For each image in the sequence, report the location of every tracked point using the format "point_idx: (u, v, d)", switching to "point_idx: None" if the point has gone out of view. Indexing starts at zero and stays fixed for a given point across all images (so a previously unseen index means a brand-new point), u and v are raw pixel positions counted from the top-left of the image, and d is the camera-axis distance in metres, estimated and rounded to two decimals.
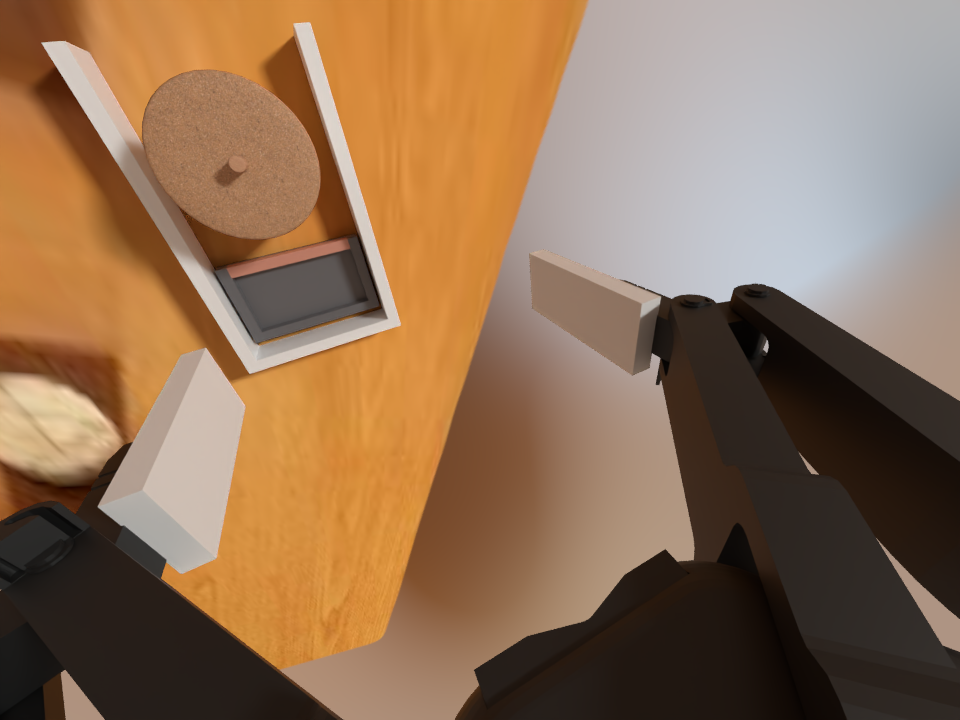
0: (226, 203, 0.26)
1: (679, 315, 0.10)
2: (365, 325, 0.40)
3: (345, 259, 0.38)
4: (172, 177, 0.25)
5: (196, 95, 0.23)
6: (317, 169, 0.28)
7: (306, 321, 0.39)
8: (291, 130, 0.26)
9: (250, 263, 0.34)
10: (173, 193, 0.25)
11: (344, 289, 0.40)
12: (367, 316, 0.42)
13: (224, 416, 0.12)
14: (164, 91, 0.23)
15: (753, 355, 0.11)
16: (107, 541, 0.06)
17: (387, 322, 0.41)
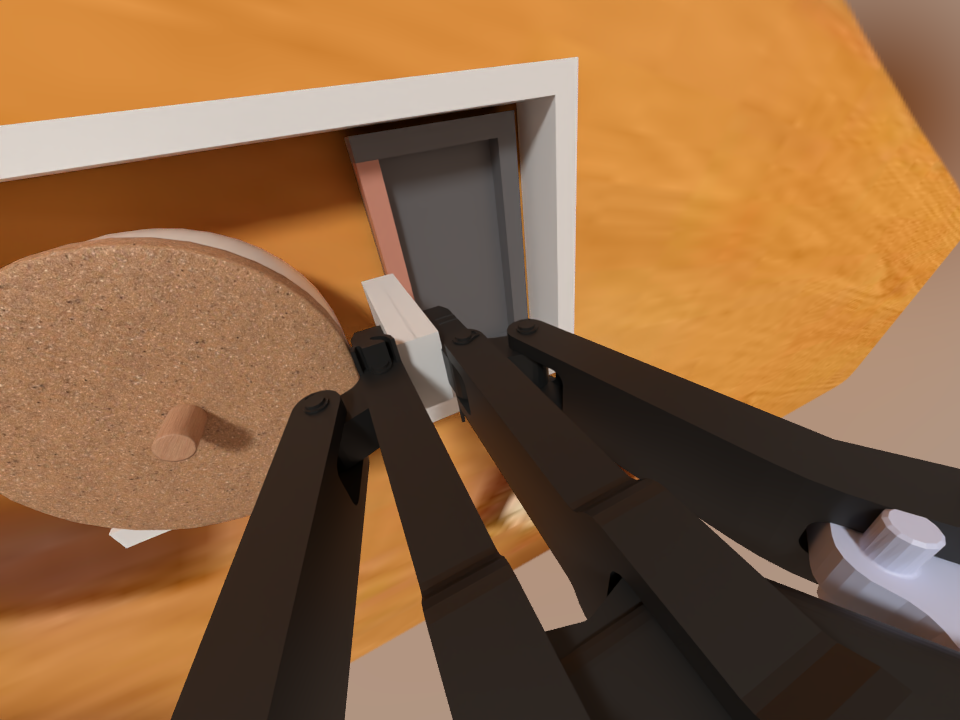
0: None
1: (458, 355, 0.10)
2: (552, 159, 0.17)
3: (403, 174, 0.17)
4: (256, 496, 0.14)
5: (47, 483, 0.11)
6: (127, 251, 0.09)
7: (514, 271, 0.21)
8: (18, 313, 0.09)
9: None
10: None
11: (465, 187, 0.19)
12: (528, 146, 0.19)
13: None
14: (76, 518, 0.12)
15: (544, 383, 0.11)
16: (407, 374, 0.10)
17: (562, 98, 0.16)
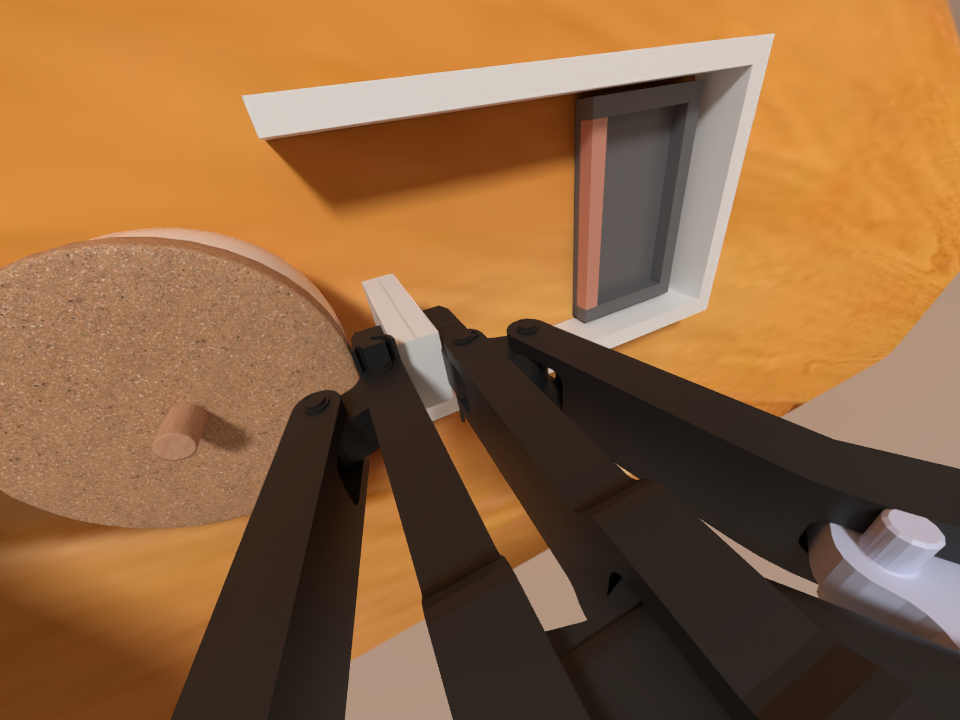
0: None
1: (458, 356, 0.10)
2: (734, 120, 0.21)
3: (611, 132, 0.21)
4: (257, 495, 0.14)
5: (48, 481, 0.11)
6: (128, 250, 0.09)
7: (672, 222, 0.25)
8: (20, 312, 0.09)
9: (587, 282, 0.24)
10: None
11: (649, 146, 0.22)
12: (703, 112, 0.22)
13: None
14: (77, 516, 0.12)
15: (544, 384, 0.11)
16: (407, 374, 0.10)
17: (756, 67, 0.19)
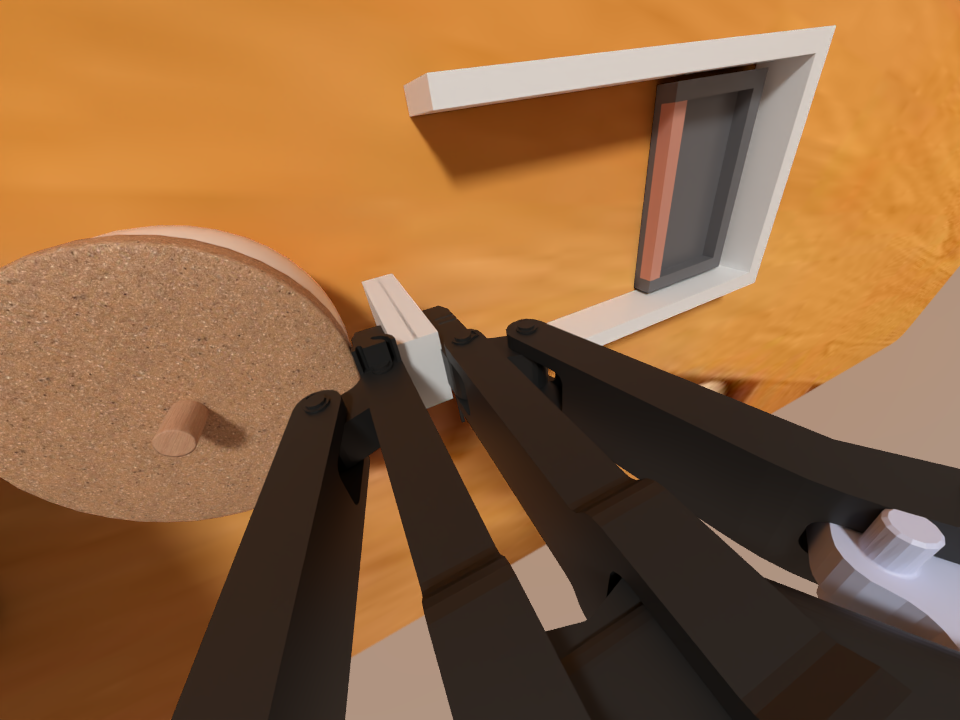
0: None
1: (458, 356, 0.10)
2: (794, 104, 0.23)
3: (684, 115, 0.23)
4: (257, 492, 0.14)
5: (53, 474, 0.11)
6: (131, 248, 0.09)
7: (729, 200, 0.27)
8: (26, 308, 0.09)
9: (654, 254, 0.27)
10: None
11: (714, 128, 0.25)
12: (763, 97, 0.25)
13: None
14: (81, 508, 0.12)
15: (544, 383, 0.11)
16: (407, 374, 0.10)
17: (818, 56, 0.22)
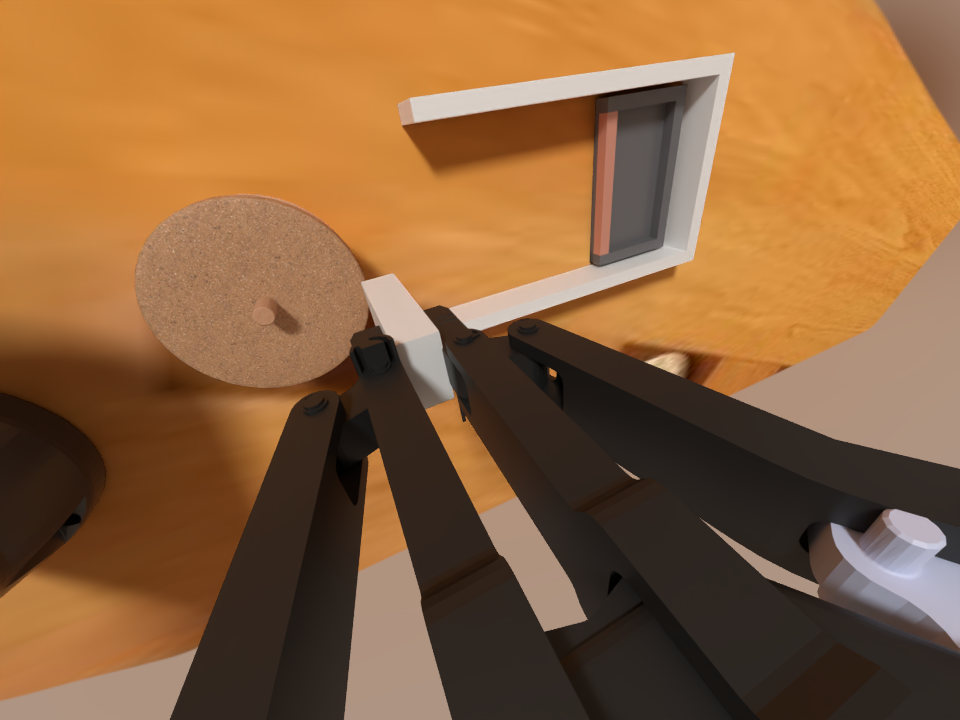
0: (324, 325, 0.21)
1: (459, 355, 0.10)
2: (708, 113, 0.29)
3: (620, 122, 0.30)
4: (301, 369, 0.21)
5: (188, 340, 0.18)
6: (245, 201, 0.17)
7: (666, 190, 0.34)
8: (190, 232, 0.16)
9: (601, 233, 0.33)
10: (321, 371, 0.22)
11: (648, 132, 0.31)
12: (687, 107, 0.31)
13: None
14: (198, 367, 0.19)
15: (545, 383, 0.11)
16: (406, 374, 0.09)
17: (722, 76, 0.28)
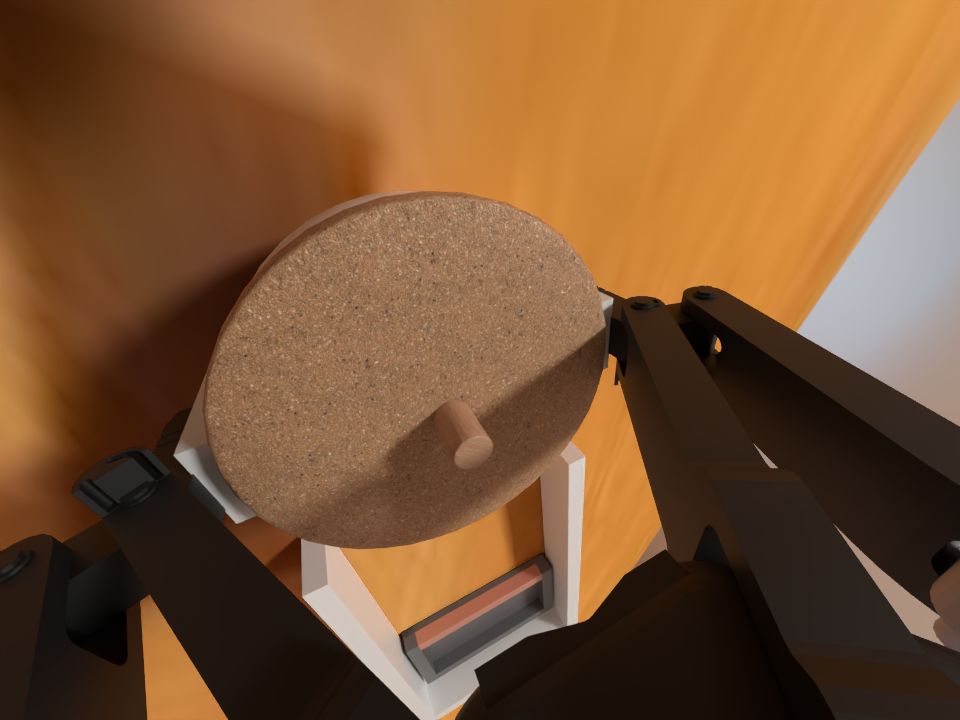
0: (401, 500, 0.10)
1: (631, 317, 0.10)
2: None
3: None
4: (282, 486, 0.08)
5: (384, 276, 0.07)
6: (597, 383, 0.12)
7: (481, 648, 0.33)
8: (581, 319, 0.10)
9: (443, 631, 0.29)
10: (278, 517, 0.09)
11: (520, 601, 0.34)
12: None
13: None
14: (288, 279, 0.06)
15: (706, 355, 0.12)
16: (183, 487, 0.07)
17: None
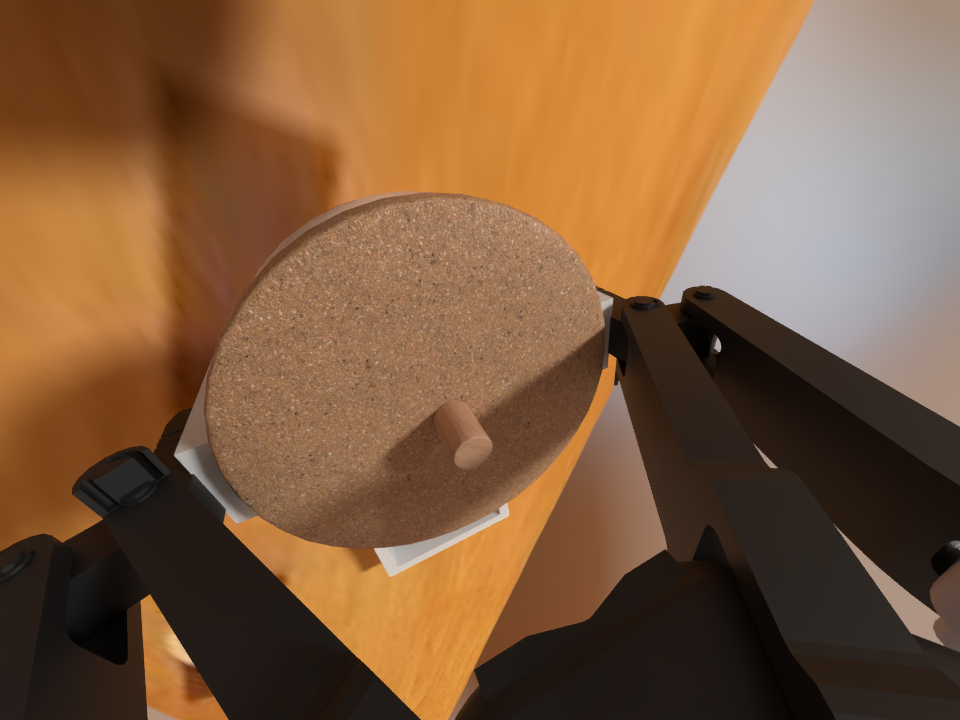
0: (401, 500, 0.10)
1: (631, 317, 0.10)
2: (481, 521, 0.46)
3: None
4: (283, 486, 0.08)
5: (384, 277, 0.07)
6: (596, 383, 0.12)
7: None
8: (580, 320, 0.10)
9: None
10: (279, 517, 0.09)
11: None
12: None
13: None
14: (289, 280, 0.06)
15: (706, 355, 0.12)
16: (184, 487, 0.07)
17: (499, 516, 0.47)
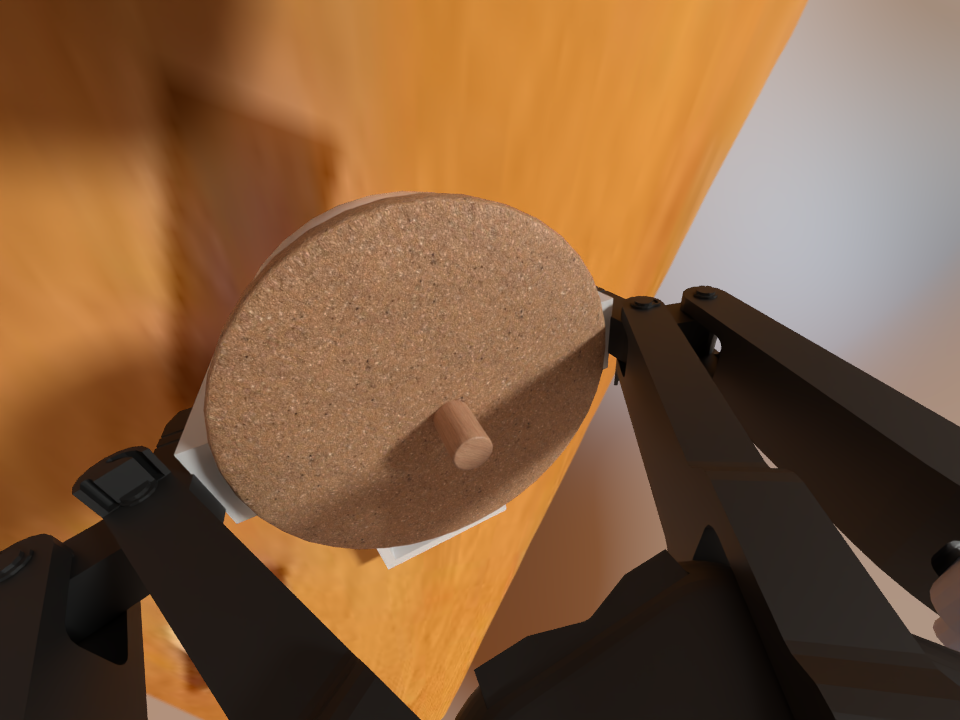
0: (401, 500, 0.10)
1: (631, 317, 0.10)
2: None
3: None
4: (283, 487, 0.08)
5: (384, 277, 0.07)
6: (596, 383, 0.12)
7: None
8: (580, 320, 0.10)
9: None
10: (279, 517, 0.09)
11: None
12: None
13: None
14: (289, 280, 0.06)
15: (705, 355, 0.12)
16: (184, 487, 0.07)
17: (496, 510, 0.47)
